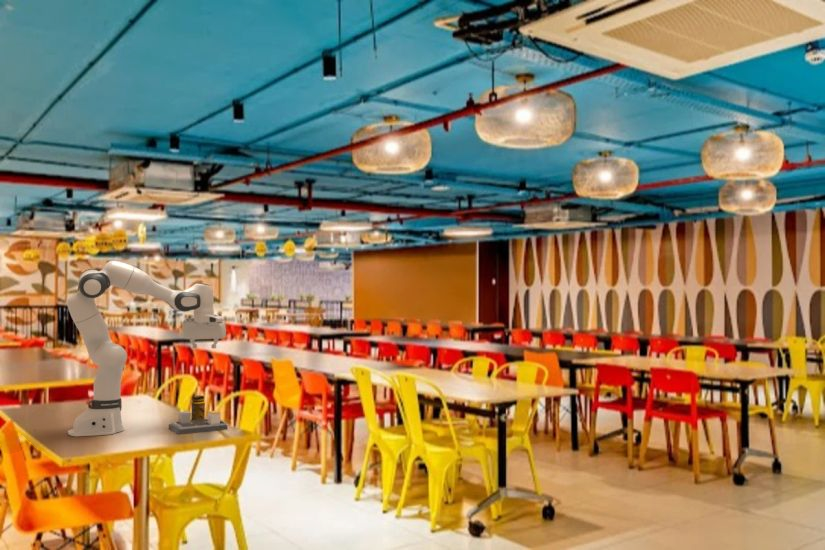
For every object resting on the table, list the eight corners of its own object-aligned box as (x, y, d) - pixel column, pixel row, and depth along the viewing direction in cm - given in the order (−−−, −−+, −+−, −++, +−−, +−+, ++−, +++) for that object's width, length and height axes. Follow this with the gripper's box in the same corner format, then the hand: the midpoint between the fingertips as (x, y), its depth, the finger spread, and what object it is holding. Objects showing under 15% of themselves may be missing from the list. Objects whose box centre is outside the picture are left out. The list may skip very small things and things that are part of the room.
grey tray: (178, 434, 320) (178, 426, 320) (168, 428, 332) (168, 420, 333) (227, 429, 332) (227, 421, 332) (216, 424, 345) (216, 416, 345)
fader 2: (211, 425, 329) (211, 413, 330) (207, 423, 333) (208, 411, 334) (220, 424, 332) (220, 412, 332) (216, 422, 336) (216, 410, 336)
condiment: (207, 421, 350) (207, 396, 350) (189, 423, 346) (189, 397, 346) (202, 419, 356) (202, 394, 356) (184, 421, 352) (185, 395, 352)
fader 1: (181, 424, 330) (181, 413, 330) (178, 422, 334) (178, 411, 334) (190, 423, 332) (190, 412, 332) (187, 422, 336) (187, 411, 336)
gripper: (179, 318, 338) (180, 348, 338) (221, 318, 335) (221, 349, 335) (186, 317, 345) (186, 347, 345) (227, 317, 341) (227, 347, 341)
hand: (204, 348), depth 340 cm, fingers open, 8 cm apart
